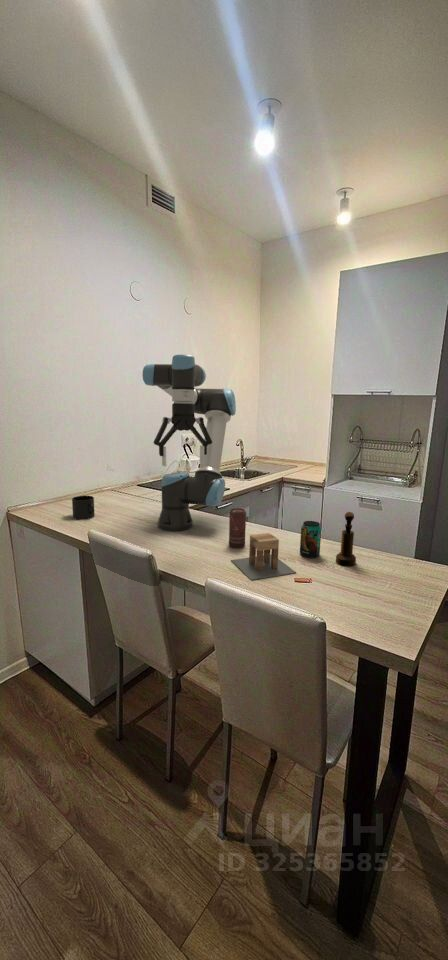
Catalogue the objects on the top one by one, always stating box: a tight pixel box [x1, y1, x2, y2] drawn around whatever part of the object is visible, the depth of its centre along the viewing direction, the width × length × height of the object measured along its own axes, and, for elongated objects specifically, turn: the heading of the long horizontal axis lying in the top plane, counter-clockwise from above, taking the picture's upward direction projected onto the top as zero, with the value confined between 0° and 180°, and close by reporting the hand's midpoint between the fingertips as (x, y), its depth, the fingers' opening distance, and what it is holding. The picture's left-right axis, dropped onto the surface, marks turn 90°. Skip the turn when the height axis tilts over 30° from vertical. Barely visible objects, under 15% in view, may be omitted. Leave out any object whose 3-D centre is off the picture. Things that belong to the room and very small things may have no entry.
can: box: [228, 508, 247, 549], centre depth 149 cm, size 6×6×14 cm
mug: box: [71, 495, 96, 520], centre depth 181 cm, size 9×12×9 cm
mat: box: [230, 554, 297, 581], centre depth 131 cm, size 16×16×1 cm
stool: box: [248, 532, 280, 571], centre depth 130 cm, size 7×7×10 cm
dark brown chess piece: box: [335, 511, 357, 567], centre depth 134 cm, size 7×6×18 cm
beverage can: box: [299, 520, 322, 559], centre depth 141 cm, size 7×7×12 cm
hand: (183, 465), depth 137 cm, fingers open, 13 cm apart
